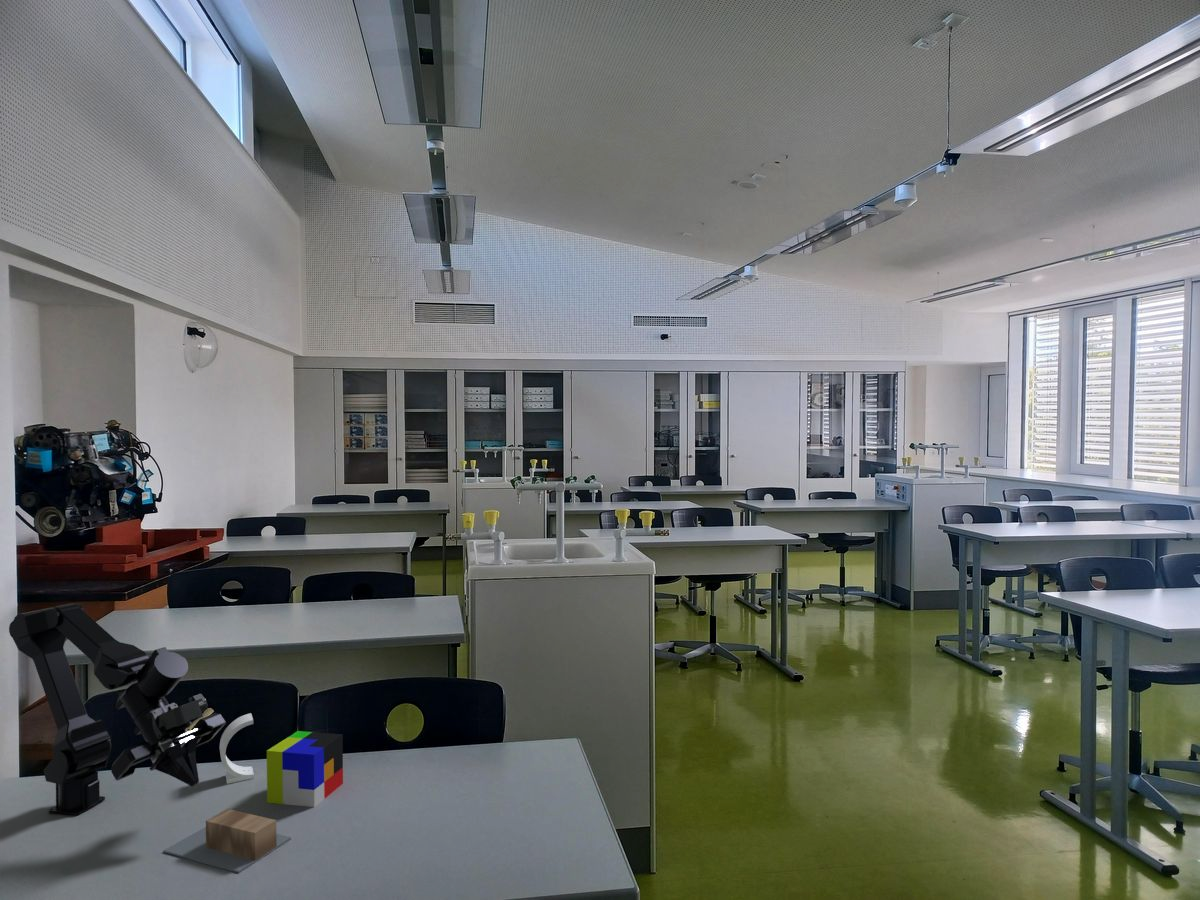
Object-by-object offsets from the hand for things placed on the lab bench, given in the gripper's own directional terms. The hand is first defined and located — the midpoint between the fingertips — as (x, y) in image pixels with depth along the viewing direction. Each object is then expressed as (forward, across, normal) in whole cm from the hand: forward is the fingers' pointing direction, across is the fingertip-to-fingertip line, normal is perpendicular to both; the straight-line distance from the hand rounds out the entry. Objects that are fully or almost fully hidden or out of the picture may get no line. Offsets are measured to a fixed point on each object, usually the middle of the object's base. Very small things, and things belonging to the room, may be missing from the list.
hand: (195, 784), depth 130 cm
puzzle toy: (+11, +20, +3) cm, 23 cm away
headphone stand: (-2, +20, +16) cm, 26 cm away
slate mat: (+12, 0, +1) cm, 12 cm away
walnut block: (+8, 0, +1) cm, 8 cm away
